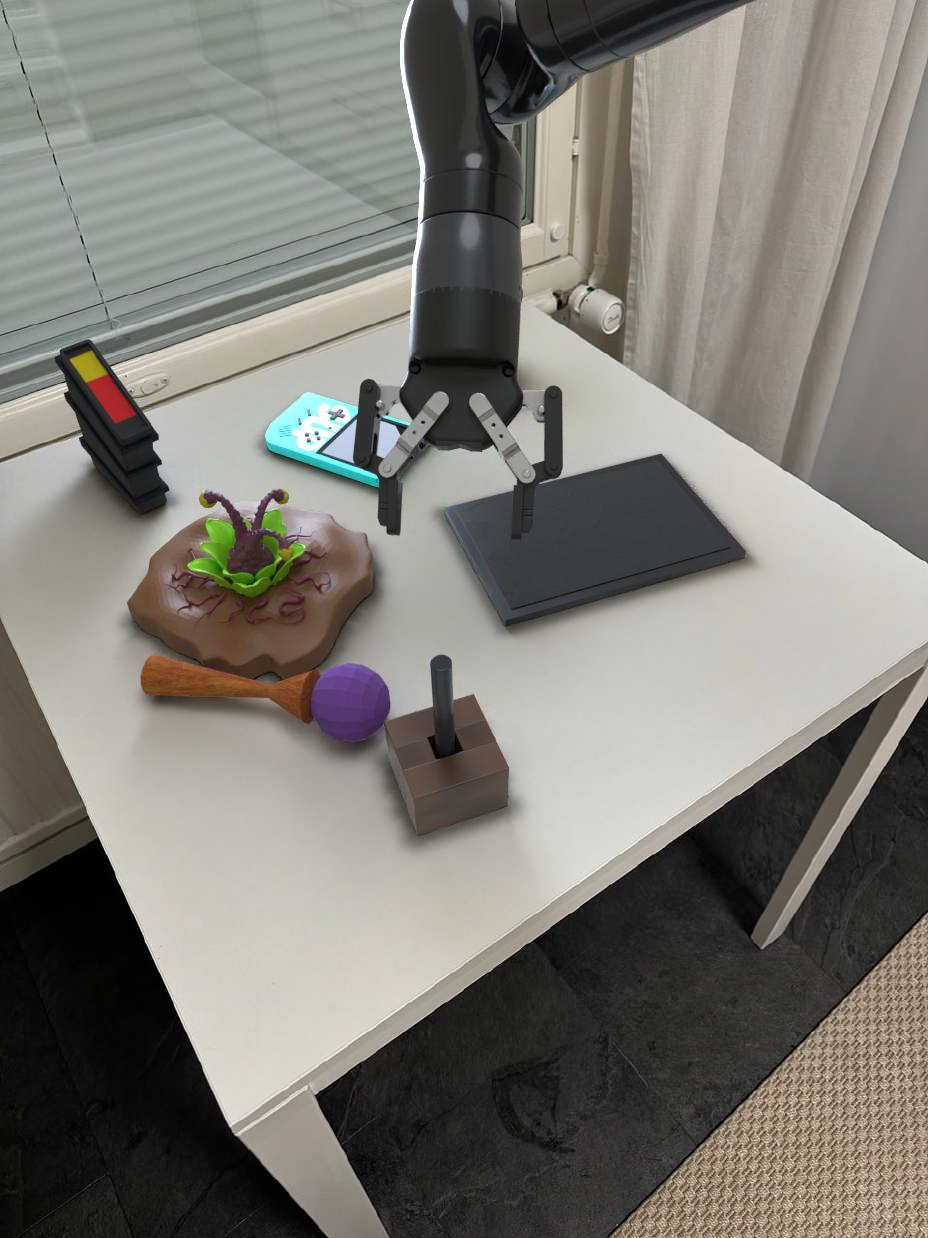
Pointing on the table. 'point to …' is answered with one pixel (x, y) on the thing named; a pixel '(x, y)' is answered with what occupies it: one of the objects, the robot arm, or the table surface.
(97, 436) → the magazine
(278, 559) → the plant
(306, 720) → the kendama
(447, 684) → the stylus
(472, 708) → the pen stand
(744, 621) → the table surface
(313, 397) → the handheld game console
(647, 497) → the tablet
